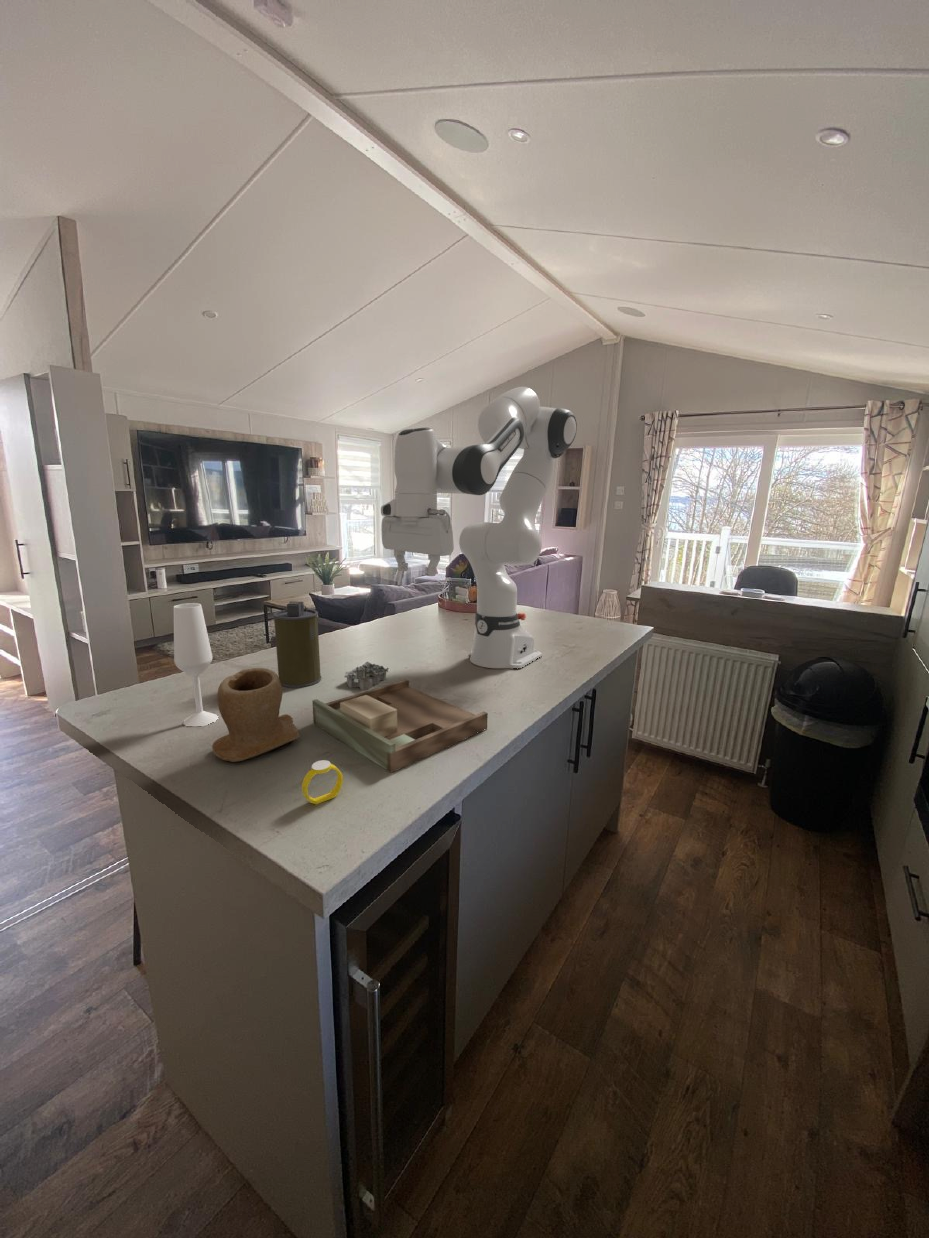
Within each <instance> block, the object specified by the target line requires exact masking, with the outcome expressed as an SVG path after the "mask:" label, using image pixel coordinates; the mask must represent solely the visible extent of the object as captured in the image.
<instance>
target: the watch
mask: <svg viewBox="0 0 929 1238" xmlns="http://www.w3.org/2000/svg"><path fill="white" fill-rule="evenodd" d="M330 770H334V771H335V772H336V777H337V778H336V781H335V782H336V783H335V785H334V787H333V788H332V789H331V790H330V792H328V793H325V794H323V795H319V796H317V797H315V798H313V797H312V796H310V795H309V794H308V790H309V789H308V788H309V785H310V783H311V780H312V778H313V777H315V776H316V775H317V774H319V775H320V774H322V775H323V774H325V773H328V772H329V771H330ZM343 777H344V776H343V773H342V771H341V770H339V768H338V767H337V766H336V765H334V764H332V763H331V761H329V760H327V759H323V760H317V761H315V762H313V764H311V769H310V770H309V771H308V772H307V773H306V774H305V776H304V778H303V780H302V783H301V791H302V794H303V795H304V796H303V797H305V798H306V800H307V801H308V802H309V803H311V804H314V805H318V804H321V803H323V802H327V801H328V800H332V799H334V798H335V797H337V795H338V794H339V793H340V791H341V790H342V786H343V782H344V778H343Z"/></svg>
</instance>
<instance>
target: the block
mask: <svg viewBox="0 0 929 1238" xmlns="http://www.w3.org/2000/svg"><path fill="white" fill-rule="evenodd" d="M340 713H342V714H344V715H346V716H347V717H349V718H351V719H353V720H355V721H356V722H358V723H360V724H362V725H363V726H365V727H367V728H369V729H370V730H372V731H374V732H376V733H377V734H379V735H381V736H383V737H385V736H388V735H390V734H393V733H396V732H397V709H395V708H393V707H391V706H388V705H386V704H384V703H382V702H380V701H378V700H376V699H374V698H372V697H370V696H368V695H364V696H360V697H357V698H354V699H351V700H347V701H344V702H341V703H340Z"/></svg>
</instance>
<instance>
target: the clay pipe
mask: <svg viewBox="0 0 929 1238" xmlns="http://www.w3.org/2000/svg"><path fill="white" fill-rule="evenodd" d="M282 699H283V686H282V685H281V682H280V680H279V676H278V674H277V673H276V672H275V671H273V670H272V669H269V668H265V667H264V668H262V667H253V668H245V669H242V670H240V671H238V672H236V673H235V674H232V675H229V676H227V677H226V678H224V679H223V680H222V681H221V683H219V686H218V689H217V704H218V705H217V706H218V710H219V714H220V715H221V718H222V721H223V722H224V724H225V725H226V728H227V731H228V734H226V735H224V736H222V737H220V738H218V739H216V740H215V741H214V742H213V743H212V746H211V747H212V751H213V754H214V755H215V756H217V757H218V758H219V759H221V760H223V761H226V762H227V761H228V762H231V763H234V762H235V763H236V762H241V761H245V760H248V759H252V758H254V757H257V756H261V755H263V754H264V753H267V752H269V751H272V750H274V749H276V748H279V747H280V746H284V745H285V744H288V743H290V742H292V741H295V740H297V739H299V737H300V734H299V731H298V729H297V728H296V726H295V724H294V720H293V717H292V716H291V715H290V714H283V715H282V714H281V715H280V709H281V704H282Z"/></svg>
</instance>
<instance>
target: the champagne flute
mask: <svg viewBox="0 0 929 1238" xmlns="http://www.w3.org/2000/svg"><path fill="white" fill-rule="evenodd" d="M204 615H205V614H204V610H203V606H202V604H201V603H197V602H192V603H191V602H189V603H188V602H186V603H180V604H177V605H174V606H173V661H174V662H173V663H174V665H175V666H176V667H177V669H179V670H180V671H182V672H183V673H185V674H186V675H188V676H190V677H192V685H193V693H194V701H195V710H196V711H195V712H194V713H193V714H191V715H189V716H188V717H187V718H185V719H184V720H183V721H184V724H185V725H186V726H202V727H205V726H208V724H209V725H211V724H210V723H212V722H214V723H216V722H217V721H218V720H219V718H218V717H219V715H218V714H216V713H212V712H208V711H205V710H204V709H203V699H202V692H201V691H202V690H201V682H200V675H202V674H203V673H204V672H205V670H206V669H208V668H209V666H210V665H211V663H212V661H213V652H212V648H211V644H210V639H209V635H208V630H207V625H206V620H205V617H204ZM217 715H218V716H217ZM217 719H218V720H217ZM216 720H217V721H216ZM212 724H213V723H212ZM186 726H185V727H186Z"/></svg>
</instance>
